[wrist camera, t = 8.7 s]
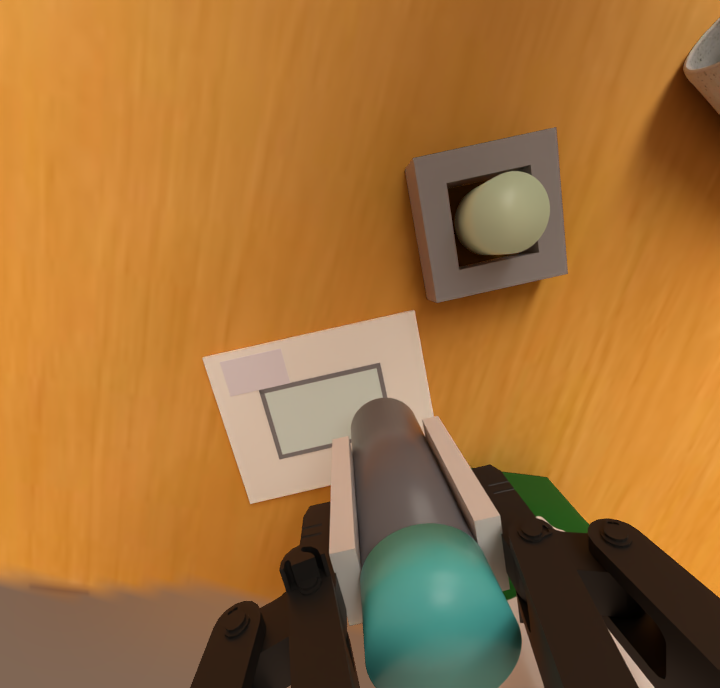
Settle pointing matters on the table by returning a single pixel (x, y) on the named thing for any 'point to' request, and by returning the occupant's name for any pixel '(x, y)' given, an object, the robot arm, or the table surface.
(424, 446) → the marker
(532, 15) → the table surface
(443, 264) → the button housing
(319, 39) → the table surface
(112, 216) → the table surface
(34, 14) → the table surface
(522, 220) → the button cap
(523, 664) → the milk carton
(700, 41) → the ceramic mug
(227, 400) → the sheet
